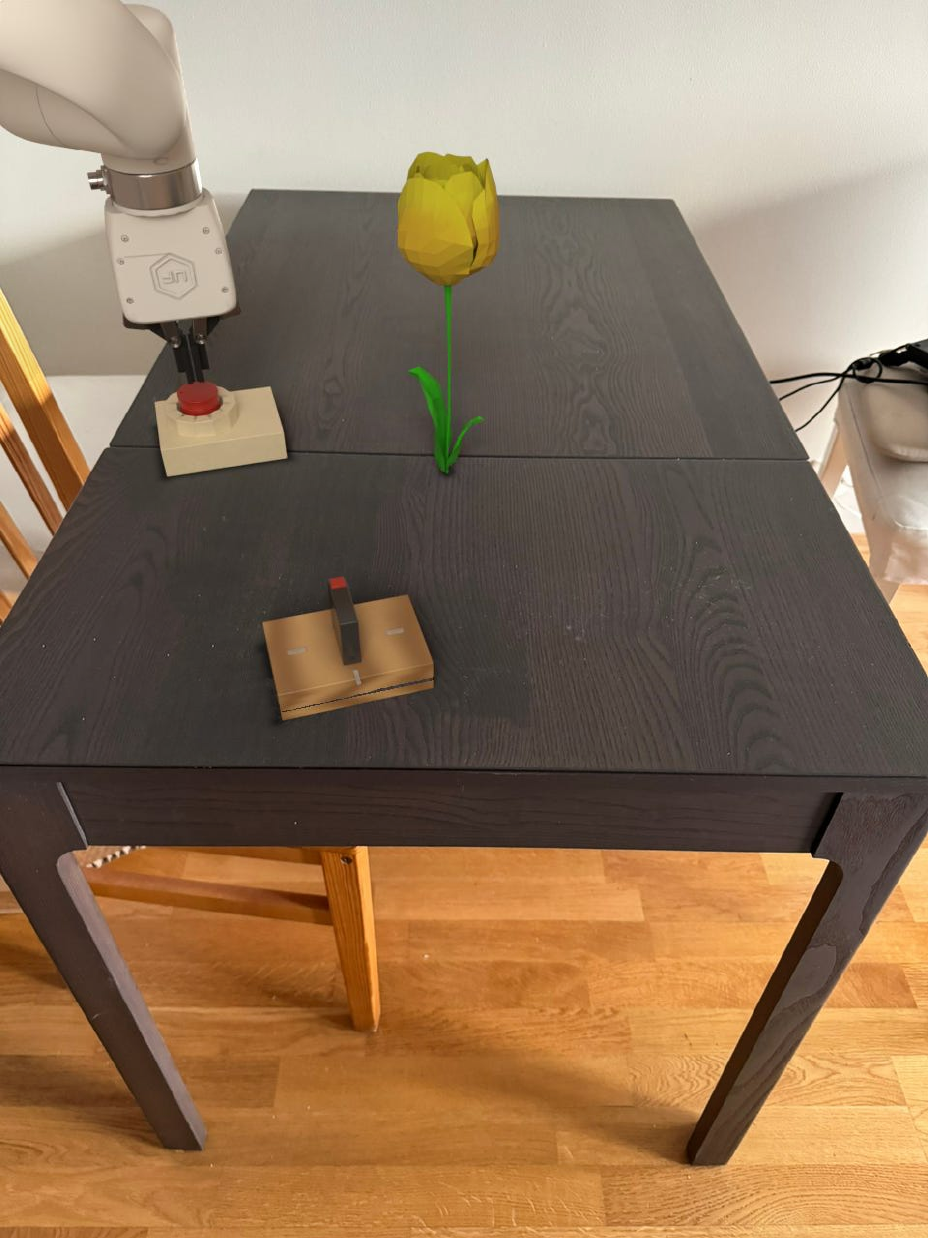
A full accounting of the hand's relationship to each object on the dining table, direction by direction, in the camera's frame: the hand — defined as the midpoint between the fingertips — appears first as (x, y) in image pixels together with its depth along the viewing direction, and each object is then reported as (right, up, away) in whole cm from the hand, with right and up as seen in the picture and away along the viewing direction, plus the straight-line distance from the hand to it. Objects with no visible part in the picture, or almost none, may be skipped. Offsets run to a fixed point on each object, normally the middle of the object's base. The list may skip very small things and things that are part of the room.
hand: (195, 376), depth 91 cm
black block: (+17, -26, -18) cm, 36 cm away
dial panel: (+17, -28, -16) cm, 36 cm away
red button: (0, -2, +2) cm, 3 cm away
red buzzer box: (+1, -5, +6) cm, 8 cm away
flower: (+24, -9, +3) cm, 26 cm away
